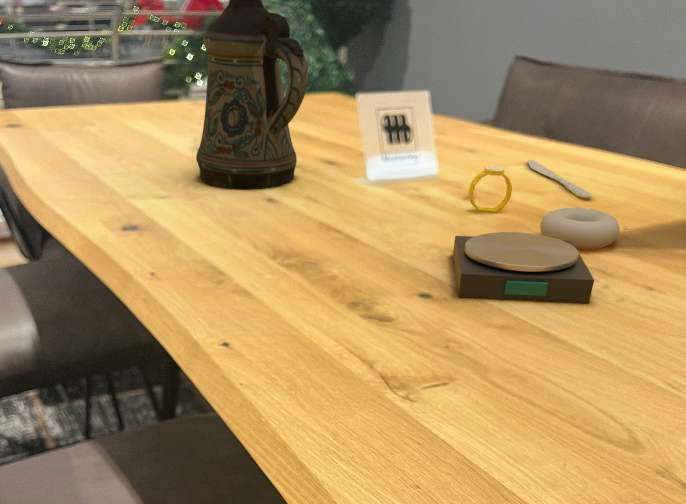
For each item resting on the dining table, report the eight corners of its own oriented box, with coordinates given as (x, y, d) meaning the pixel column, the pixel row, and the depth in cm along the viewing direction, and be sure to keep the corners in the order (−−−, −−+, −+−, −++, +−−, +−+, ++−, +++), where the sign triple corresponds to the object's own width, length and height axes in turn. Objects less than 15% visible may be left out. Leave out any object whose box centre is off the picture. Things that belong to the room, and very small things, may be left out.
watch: (469, 214, 111) (474, 170, 107) (464, 208, 113) (470, 166, 110) (509, 213, 111) (516, 170, 108) (504, 208, 113) (511, 165, 110)
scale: (567, 261, 94) (572, 237, 92) (589, 304, 82) (595, 278, 80) (452, 256, 95) (455, 232, 93) (458, 298, 83) (461, 272, 81)
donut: (533, 248, 98) (615, 256, 95) (537, 221, 96) (621, 228, 93) (542, 227, 106) (618, 234, 103) (546, 202, 104) (623, 207, 101)
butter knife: (576, 195, 117) (595, 194, 118) (521, 160, 139) (536, 159, 140) (576, 199, 118) (594, 198, 118) (520, 163, 140) (536, 162, 140)
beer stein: (215, 164, 135) (205, -4, 121) (322, 170, 132) (325, -2, 118) (183, 186, 122) (168, 0, 108) (302, 194, 119) (302, 3, 105)
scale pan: (567, 239, 91) (568, 234, 91) (587, 274, 81) (588, 269, 81) (461, 234, 92) (462, 229, 92) (467, 269, 82) (468, 263, 82)
